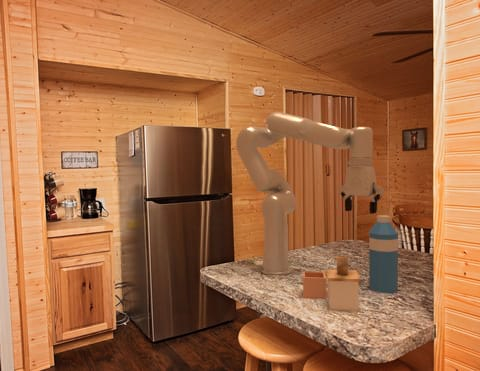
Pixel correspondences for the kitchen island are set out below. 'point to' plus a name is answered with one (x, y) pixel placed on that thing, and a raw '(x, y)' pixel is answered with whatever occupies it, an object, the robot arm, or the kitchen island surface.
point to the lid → (342, 272)
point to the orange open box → (314, 285)
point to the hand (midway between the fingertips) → (360, 212)
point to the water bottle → (383, 256)
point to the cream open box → (343, 295)
